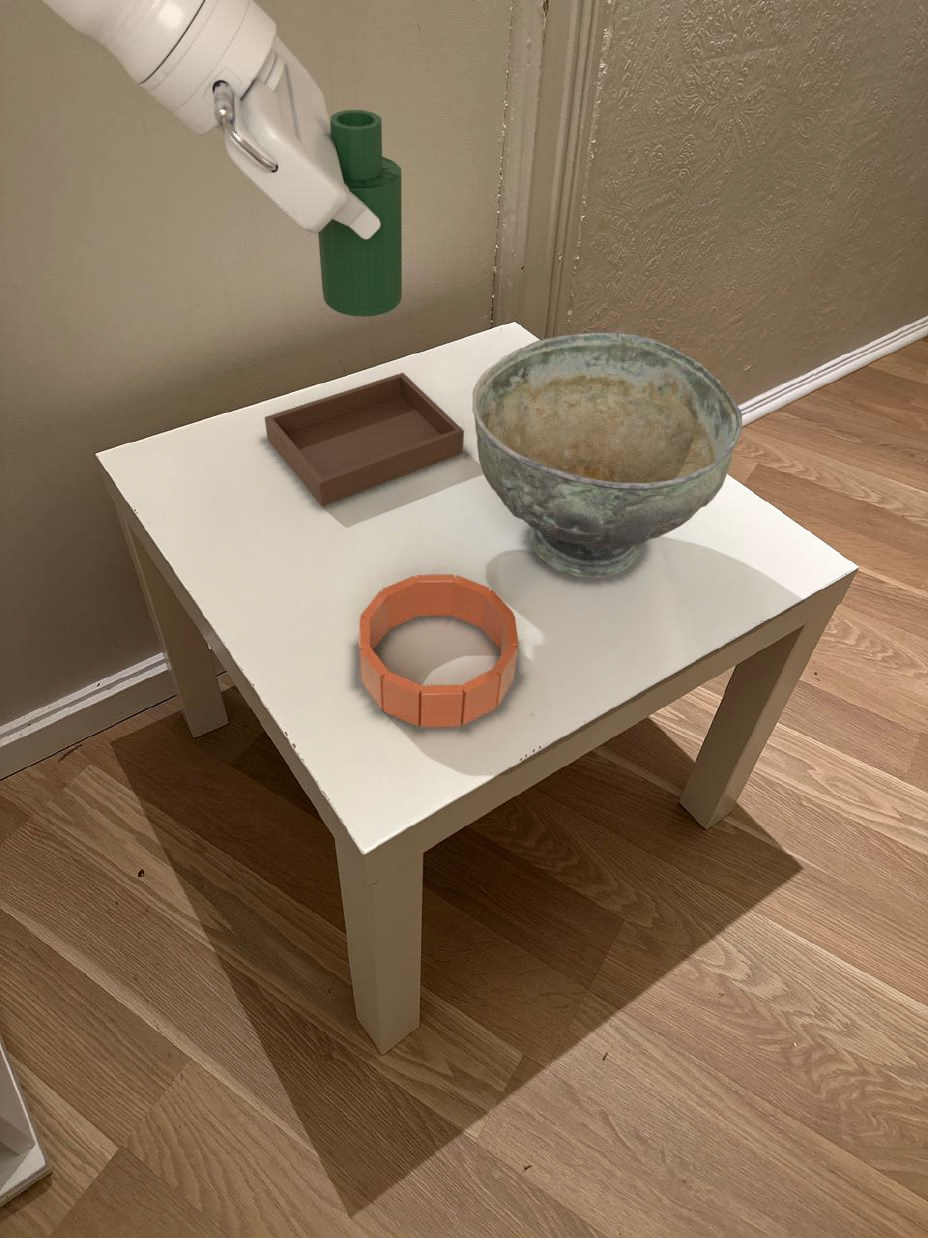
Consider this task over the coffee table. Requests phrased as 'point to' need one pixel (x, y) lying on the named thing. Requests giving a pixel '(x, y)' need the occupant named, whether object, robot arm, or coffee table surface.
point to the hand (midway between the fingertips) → (367, 204)
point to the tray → (363, 437)
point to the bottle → (351, 265)
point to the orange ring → (437, 600)
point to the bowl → (602, 444)
